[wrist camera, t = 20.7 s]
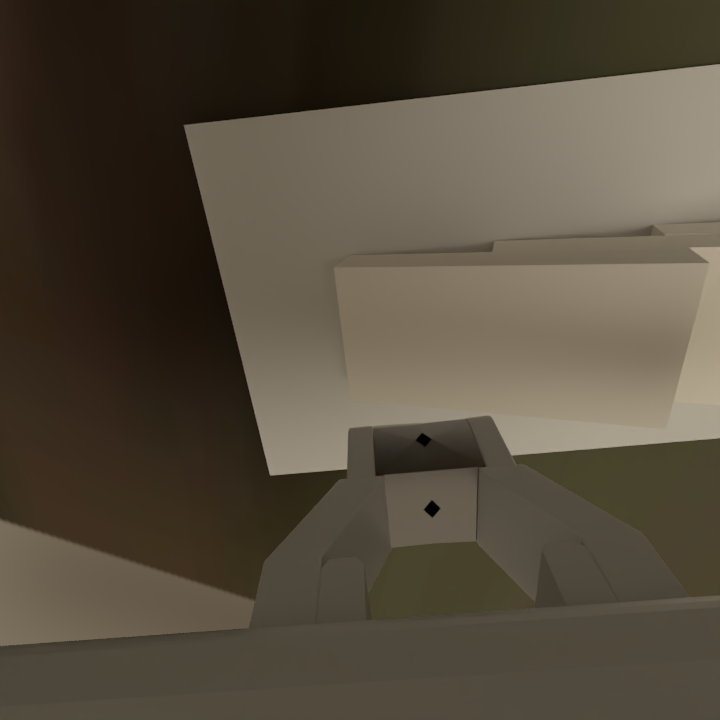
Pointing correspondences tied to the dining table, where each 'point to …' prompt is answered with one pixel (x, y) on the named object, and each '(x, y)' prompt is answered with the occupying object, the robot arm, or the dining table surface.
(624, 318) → the domino
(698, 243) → the domino
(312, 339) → the mat
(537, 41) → the dining table surface
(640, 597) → the robot arm
